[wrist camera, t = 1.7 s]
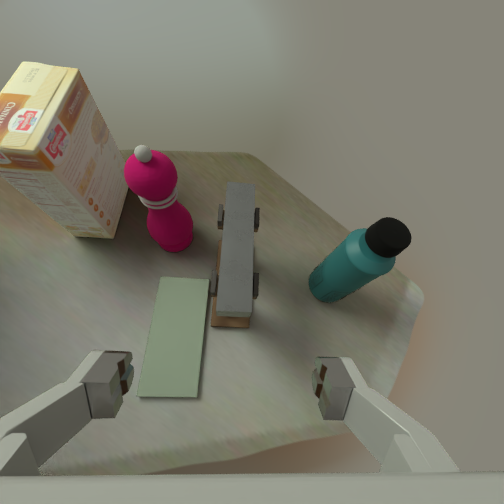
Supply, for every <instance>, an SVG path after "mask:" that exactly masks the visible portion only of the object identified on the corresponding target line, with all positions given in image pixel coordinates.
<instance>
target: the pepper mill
mask: <svg viewBox="0 0 504 504" xmlns="http://www.w3.org/2000/svg"><path fill="white" fill-rule="evenodd" d="M124 177H125V180H126V183H127V185H128V186H129V188H130V189H131V190H132V191H133V192H134V193H135V194H136V195H138V197H139V198H140V201H141V202H142V203H143V204H144V205H145V206H147V207H148V210H149V213H148V216H147V228H148V231H149V233H150V235H151V237H152V238H153V239H154V240H155V241H157V242H158V243H159V245H160V246H161V247H162V248H163V249H164V250H166V251H169V252H178V251H182V250H184V249H185V248H187V247H188V246H189V245H190V243H191V241H192V238H193V234H192V229H193V221H192V218H191V215H190V213H189V212H188V211H187V209H186V208H185V207H184V206H182V205H181V204H180V203H179V202H178V201H177V196H178V191H177V187H176V183H177V178H178V177H177V171H176V168H175V166H174V164H173V162H172V161H171V160H170V159H169V158H168V157H167V156H166V155H164V154H163V153H161V152H158V151H155V150H150V149H149V148H148V147H147V146H145V145H139V146H137V147H136V148H135V151H134V154H133V155H131V156H130V157H129V159H128V160H127V161H126V164H125V167H124Z"/></svg>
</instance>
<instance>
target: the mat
mask: <svg viewBox="0 0 504 504" xmlns="http://www.w3.org/2000/svg"><path fill="white" fill-rule="evenodd" d="M208 290H209V279H194V278H176V277H160V282H159V287H158V291H157V296H156V301H155V306H154V311H153V316H152V321H151V326H150V331H149V336H148V341H147V346H146V351H145V356H144V361H143V366H142V371H141V376H140V381H139V386H138V391H137V396H141V397H197V394H198V384H199V375H200V366H201V356H202V347H203V337H204V328H205V318H206V309H207V300H208Z"/></svg>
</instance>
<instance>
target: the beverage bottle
mask: <svg viewBox="0 0 504 504" xmlns="http://www.w3.org/2000/svg"><path fill="white" fill-rule="evenodd" d="M410 243H411V234H410V232H409V229H408V228H407V227H406V226H405V224H403V223H402V222H401V221H399V220H397V219H394V218H390V217H389V218H388V217H386V218H382V219H380V220H379V221H377V222H376V223H375V224H373V225H371V226H370V227H369V228H368V229H365V228H363V229H357V230H355V231H353V232H351V233H350V234H349V235H348V236H347V238H346V239H345V240H344V241H343V242H342V243H341V244H340V245H339V246H338V247H336V249H335V250H334V249H333V250H334V251H333V252H332V253H331V254H330V255H329V256H328V255H327V256H328V257H327V258H326V257H325V260H324V261H323V262H322V263H321V262H320V263H321V264H320V265H319V266H318V267H316V268H315V270H314V271H313V272H312V274H311V275H310V278H309V287H310V290H311V292H312V294H313V295H314V296H315V297H316V298H317V299H319V300H321V301H323V302H327V303H328V302H334V301H337V300H338V301H339V299H340V298H342V297H344V298H345V297H346V295H348V294H350V293H352V292H353V291H355V290H357V289H359V288H360V287H362V286H364V285H365V284H367V283H369V282H370V281H372V280H374V279H376V278H377V277H379V276H381V275H384V274H386V273H388V272H389V271H390V270H391V269H392V268H393V266H394V264H395V256H397V255H398V254H399V253H401V252H402V251H403V250H404V249H405V248H407V247H408V246H409V244H410ZM353 293H354V292H353ZM342 299H343V298H342ZM340 300H341V299H340Z"/></svg>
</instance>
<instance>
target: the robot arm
mask: <svg viewBox="0 0 504 504" xmlns="http://www.w3.org/2000/svg"><path fill="white" fill-rule="evenodd" d="M132 359H133V358H132V353H131V352H125V351H101V350H93V351H91V352H90V353H89V354H88V355H87V356H86V358H85V359H84V360H83V361H82V363H81V364H80V365H79V366H78V367H77V369H76V370H75V371H74V372H73V373H72V375H71V376H70V377H69V378H68V380H67V381H66V382H65V383H60V384H58V385H56V386H54V387H53V388H51V389H49V390H47V391H46V392H44V393H42V394H41V395H39V396H37V397H35V398H34V399H32V400H30V401H29V402H27V403H25V404H23V405H22V406H20V407H18V408H17V409H15V410H13V411H11V412H10V413H8V414H6V415H5V416H3V417H1V418H0V504H504V471H487V472H486V471H483V472H461V471H460V470H459V469H458V467H457V466H456V465H455V463H454V462H453V460H452V459H451V458H450V456H449V455H448V454H447V452H446V451H445V450H444V448H443V447H442V445H441V444H440V443H439V441H438V440H437V438H436V437H435V436H434V434H433V433H431V432H430V431H429V430H428V429H426V428H425V427H423V426H422V425H421V424H419V423H418V422H417V421H416V420H414V419H413V418H412V417H410V416H409V415H407V414H406V413H405V412H403V411H402V410H401V409H399V408H398V407H397V406H396V405H394V404H393V403H391V402H390V401H389V400H387V399H386V398H385V397H383V396H382V395H381V394H379V393H378V392H377V391H375V390H374V389H373V388H369V387H368V385H367V384H366V382H365V380H364V379H363V377H362V375H361V374H360V372H359V370H358V369H357V367H356V365H355V364H354V362H353V360H352V359H351V358H350V357H317V358H316V360H315V366H316V369H315V370H314V371H313V374H312V386H313V390H314V393H315V395H316V396H317V397H318V398H319V403H318V405H319V408H320V411H321V414H322V417H323V420H343V422H344V423H345V424H346V425H347V426H348V428H349V429H350V430H351V431H352V432H353V433H354V434H355V436H356V437H357V438H358V439H359V440H360V441H361V442H362V443H363V445H364V446H365V447H366V448H367V449H368V450H369V451H370V452H371V454H372V455H373V456H374V457H375V458H376V459H377V460H378V462H380V464H381V465H382V466H381V469H380V471H379V473H289V474H288V473H285V474H193V475H191V474H190V475H187V474H186V475H83V476H41V475H40V472H39V469H38V468H39V467H40V466H41V465H42V464H43V463H44V462H45V461H46V460H47V459H49V458H50V457H51V456H52V455H53V454H54V453H55V452H56V451H58V450H59V449H60V448H61V447H62V446H63V445H64V444H65V443H66V442H68V441H69V440H70V439H71V438H72V437H73V436H74V435H75V434H77V433H78V432H79V431H80V430H81V429H82V428H83V427H84V426H85V425H87V424H88V423H89V422H90V421H91V419H100V418H115V417H116V415H117V413H118V411H119V409H120V407H121V405H122V403H123V397H122V396H123V395H124V394H126V393H127V392H128V391H129V389H130V387H131V385H132V381H133V377H134V367H133V366H132V365H131V364H130V363H131V361H132Z"/></svg>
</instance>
